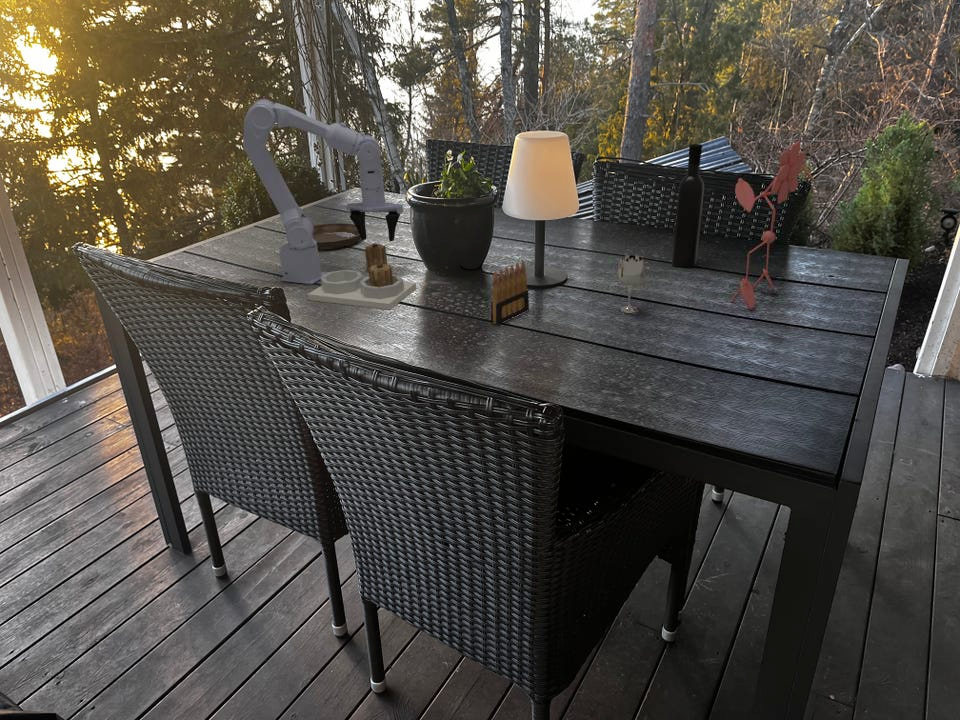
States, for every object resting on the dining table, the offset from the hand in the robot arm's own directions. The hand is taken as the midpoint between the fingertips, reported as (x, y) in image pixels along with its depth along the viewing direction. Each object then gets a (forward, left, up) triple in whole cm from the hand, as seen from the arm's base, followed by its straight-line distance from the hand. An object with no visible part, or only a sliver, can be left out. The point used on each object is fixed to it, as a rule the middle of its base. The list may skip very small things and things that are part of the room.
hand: (377, 239), depth 179 cm
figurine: (+96, +4, -9) cm, 96 cm away
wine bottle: (+75, +26, -9) cm, 80 cm away
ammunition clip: (+43, -19, -9) cm, 47 cm away
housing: (+4, -16, -9) cm, 18 cm away
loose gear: (-2, +2, -9) cm, 9 cm away
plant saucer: (-28, +20, -9) cm, 36 cm away
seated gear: (+9, -16, -7) cm, 20 cm away
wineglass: (+67, -8, -9) cm, 68 cm away
